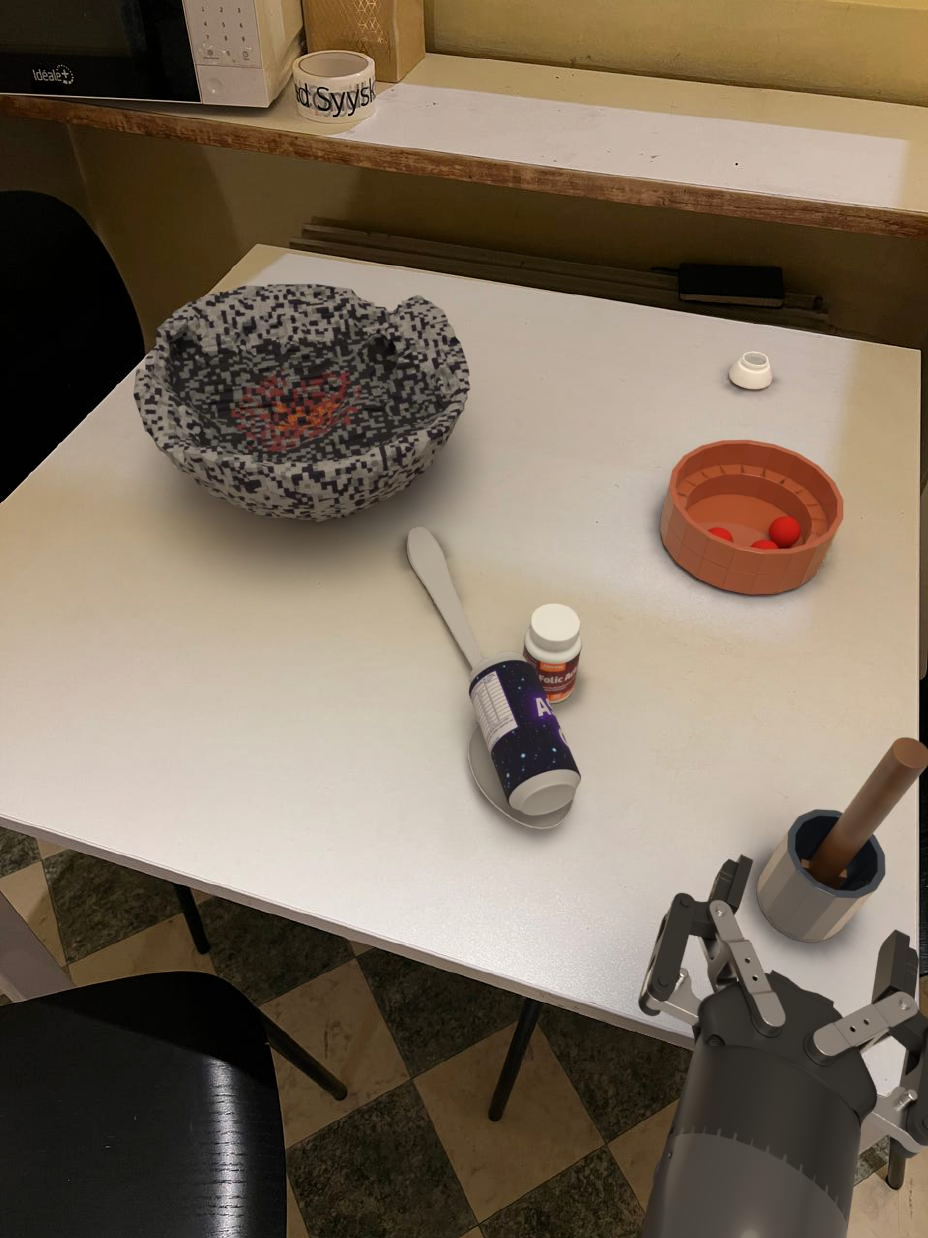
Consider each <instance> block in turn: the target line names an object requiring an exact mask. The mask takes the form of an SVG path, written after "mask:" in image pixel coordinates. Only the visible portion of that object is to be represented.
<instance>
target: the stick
mask: <svg viewBox="0 0 928 1238" xmlns="http://www.w3.org/2000/svg"><path fill="white" fill-rule="evenodd" d="M927 767H928V748H927V746H926V745H924V743H922V742H921V741H919V740H918V739H916V738H912V737H908V736H907V737H899V738H897V739H896V740H894V741H893V742H892V744H891V746H890V747H889V748H888V749H887V751H886V752H885V753H884V755H883V757H882V758H881V759H880V761H879V762H878V764H877V765H876V767H875V768H874V769H873V771H872V772H871V774H870V775H869V776H868V778H867V779H866V781H864V783H863V785H862V786H861V787H860V789H859V790H858V792H857V793H856V795H855V796H854V797H853V799H852V800H851V801H850V803H849V804H848V806H847V807H846V809H844V811H843V812H842V813H843V814H842V816H841V817H840V818H839V820H838V821H837V823H836V824H835V825H834V827H833V828H832V830H831V831H830V832H829V834H828V835H827V837H826V838H825V839H824V841H823V842H822V844H821V845H820V846H819V848H818V849H817V851H816V852H815V853H814V855H813V856H812V858H811V859H810V860H805V859H801V861H800V862H801V865H802V867H803V868H804V869H805V870H806V871H807V872H808V873H809V874H810V875H811V876H812V877H813V878H814V879H815V880H816V881H817V882H819V883H822V884H824V885H826V886H828V887H830V888H832V889H835V890H837V889H838V888H839V886H840V885H841V884H842V883H843V881H844V880H845V879H846V878H847V870H845V868H846V867H847V865H848V864H849V863H850V862H851V860H852V859H853V858H854V857H855V855H856V854H857V853H858V852H859V850H860V849H861V848H862V847H863V845H864V844H865V843H866V842H867V840H868V839H869V838H870V837H871V835H872V834H874V833H875V832H876V831H877V829H879V827H880V826H881V824H882V823H883V822H884V820H886V818H887V817H888V816H889V814H890V813H891V812H892V811H893V810H894V808H895V807H896V805H897V804H898V803H899V802H900V801H901V799H902V798H903V797H904V796H905V794H906V793H907V792H908V791H909V789H910V788H911V787H912V786H913V784H914V783H915V782H916V781H917V779H918V778H919V776H920V775H921V774H922V773H923V772H924V771H925V769H927Z"/></svg>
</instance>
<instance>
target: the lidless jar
mask: <svg viewBox="0 0 928 1238" xmlns="http://www.w3.org/2000/svg"><path fill="white" fill-rule="evenodd" d="M769 362H770V360H769V358H768V356H767V355H766V354H764V353H763V352H759V351H747V352H745V353H743V355H742V356H741V357H740V358H738V360H737V361H736V362H735V363H734V364H733V365H732V366H731V367H730V369H729V371H728V377H729V379H730V381H731V382H732V383H733V384H735V385H737V386H738V387H740V388H744V389H748V390H760V389H765V388H767V387H768V386H770V385H771V383H772V381H773V378H774V377H773V374H772V369H771V365H770V363H769Z"/></svg>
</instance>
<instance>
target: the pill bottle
mask: <svg viewBox="0 0 928 1238" xmlns="http://www.w3.org/2000/svg"><path fill="white" fill-rule="evenodd" d="M580 631H581V619H580V617H579V615H578V613H577V612H576V611H575V610H574V609H572V608H571V607H569V606H567V605H565V604H562V603H553V602H551V603H546V604H543V605H540V606H538V607H537V608H536V609H535V610H534V611H533V613H532V614H531V617H530V621H529V626H528V627H527V629H526V631H525V634H524V639H523V650H522V656H524V657H525V659H526V661H527V662H528V663H530V664H531V665H532V666H533V667H534V668H535V669H536V672H537V674H538V676H539V679H540V681H541V683H542V686H543V688H544V690H545V693H546V695H547V697H548V700H549V702H550V704H556V703H560V702H562V701H564V700H566V699H568V697H569V696H570V695H572V693H573V691H574V688H575V685H576V679H577V673H578V668H579V664H580V663H579V662H580V656H581V653H582V652H581V651H582V647H583V641H582V636H581V633H580Z"/></svg>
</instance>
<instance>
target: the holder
mask: <svg viewBox="0 0 928 1238" xmlns="http://www.w3.org/2000/svg"><path fill="white" fill-rule="evenodd" d="M843 813H844V812H841V811H839V810H836V809H820V808H818V809H817V808H816V809H813V810H810V811H807V812H806V813H803V814H801V815H798V816H797V817H796V819H795V820H794V822H793V823H792V824H791V826H790V827H789V829H788V830H787V831H786V833H785V835H784V836H783V838H782V839H781V841H780V843H779V844H778V846H777V848H776V850H775V851H774V852H773V854H772V856H771V857H770V859H769V860H768V862H767V863H766V865H765V867H764V868H763V870H762V871H761V873H760V874H759V877H758V880H757V885H756V898H757V902H758V905H759V907H760V910H761V912H762V914H763V916H764V917H765V918H766V920H767V921H768V922H769V923H770V925H772V927H774V929H775V930H777V931H778V932H780V933H781V934H783V935H784V936H786V937H788V938H790V939H793V940H796V941H799V942H804V943H818V942H823V941H825V940H828V939H830V938H831V937H833V936H834V935H836V934H837V933H839V931H840V930H841V929H843V927H844V926H845V925H846V924H847V923H848V922H849V921H850V920H851V919H852V917H853V916H855V914H856V913H857V912H858V911H859V910H860V909H861V907H863V906H864V904H865V903H866V902H867V901H868V900H869V898H871V896H872V895H873V894H875V892H876V891H877V890H878V888H879V886H880V885H881V883H882V881H883V880H884V878H885V876H886V855H885V852H884V850H883V848H882V846H881V843H880V842H879V841H878V838H877V837H876V835H875V834H874V833H873V834H872V835H871V837H870V838H869V839H868V840H867V842H866V843H865V844H864V845H863V847H862V848H861V849H860V850H859V852H858V853H857V854H856V855H855V857H854V858H853V859H852V860H851V862H850V863H849V864H848V865H847V867H846V868H845V870H847V878H846V879H845V880H844V881H843V883H842V884H841V885H840V886H839V888H838V889H837V890H835V889H832V888H830V887H828V886H826V885H824V884H822V883H819V882H817V881H816V880H815V879H814V878H813V877H812V876H811V875H810V874H809V873H808V872H807V871H806V870H805V869H804V868H803V867H802V865H801V862H800V861H801V859H805V860H810V859H811V858H812V856H813V855H814V853H815V852H816V851H817V849H818V848H819V846H820V845H821V844H822V842H823V841H824V839H825V838H826V837H827V835H828V834H829V832H830V831H831V830H832V828H833V827H834V825H835V824H836V823H837V821H838V820H839V818H840V817H841V816H842V814H843Z"/></svg>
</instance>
